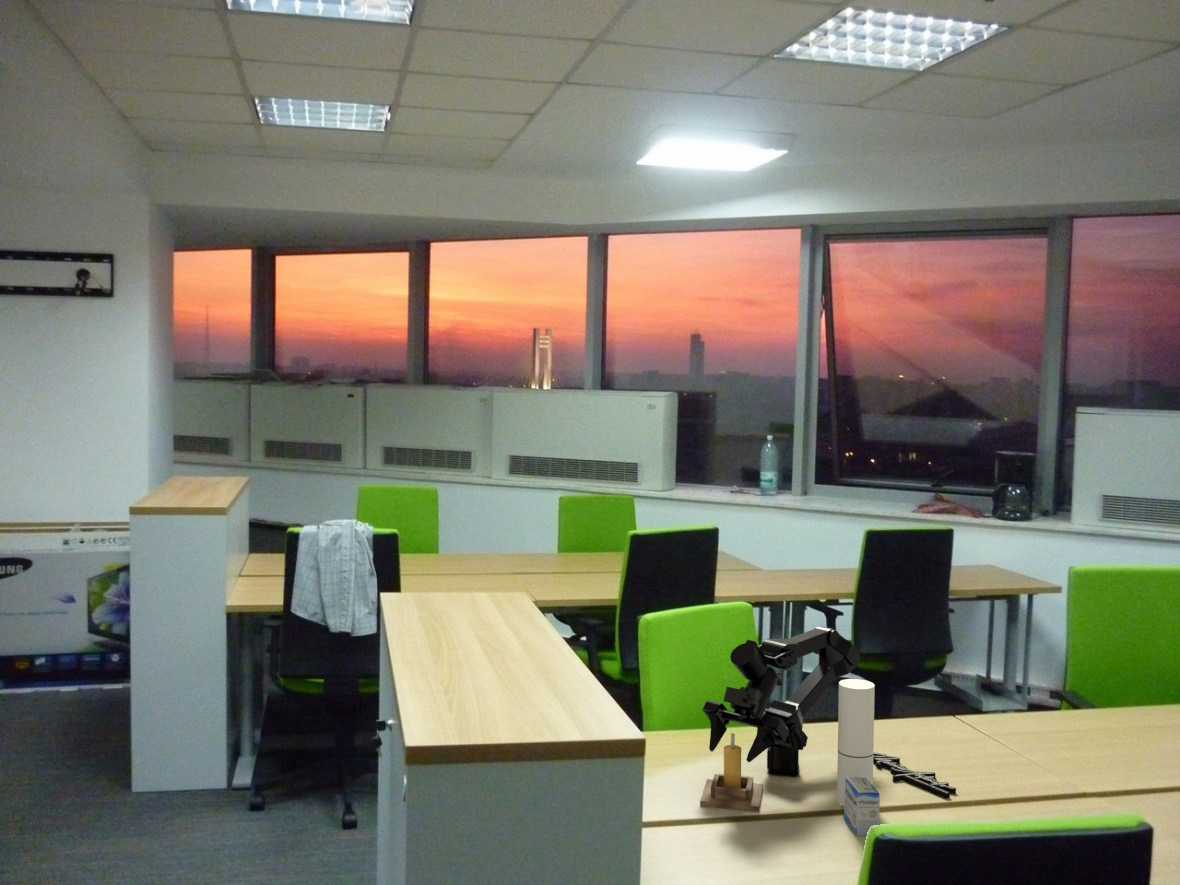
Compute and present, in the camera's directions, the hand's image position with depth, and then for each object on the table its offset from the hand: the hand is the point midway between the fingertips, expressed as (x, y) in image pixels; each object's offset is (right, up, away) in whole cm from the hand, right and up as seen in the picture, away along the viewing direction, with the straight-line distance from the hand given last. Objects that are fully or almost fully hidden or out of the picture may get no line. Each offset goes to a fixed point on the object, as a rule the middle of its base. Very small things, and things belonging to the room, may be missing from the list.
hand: (729, 755), depth 216 cm
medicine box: (+24, -10, -13) cm, 29 cm away
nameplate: (+41, -9, +14) cm, 44 cm away
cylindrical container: (+26, -10, -1) cm, 28 cm away
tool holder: (+1, -9, +2) cm, 9 cm away
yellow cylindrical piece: (+1, -8, +2) cm, 8 cm away
